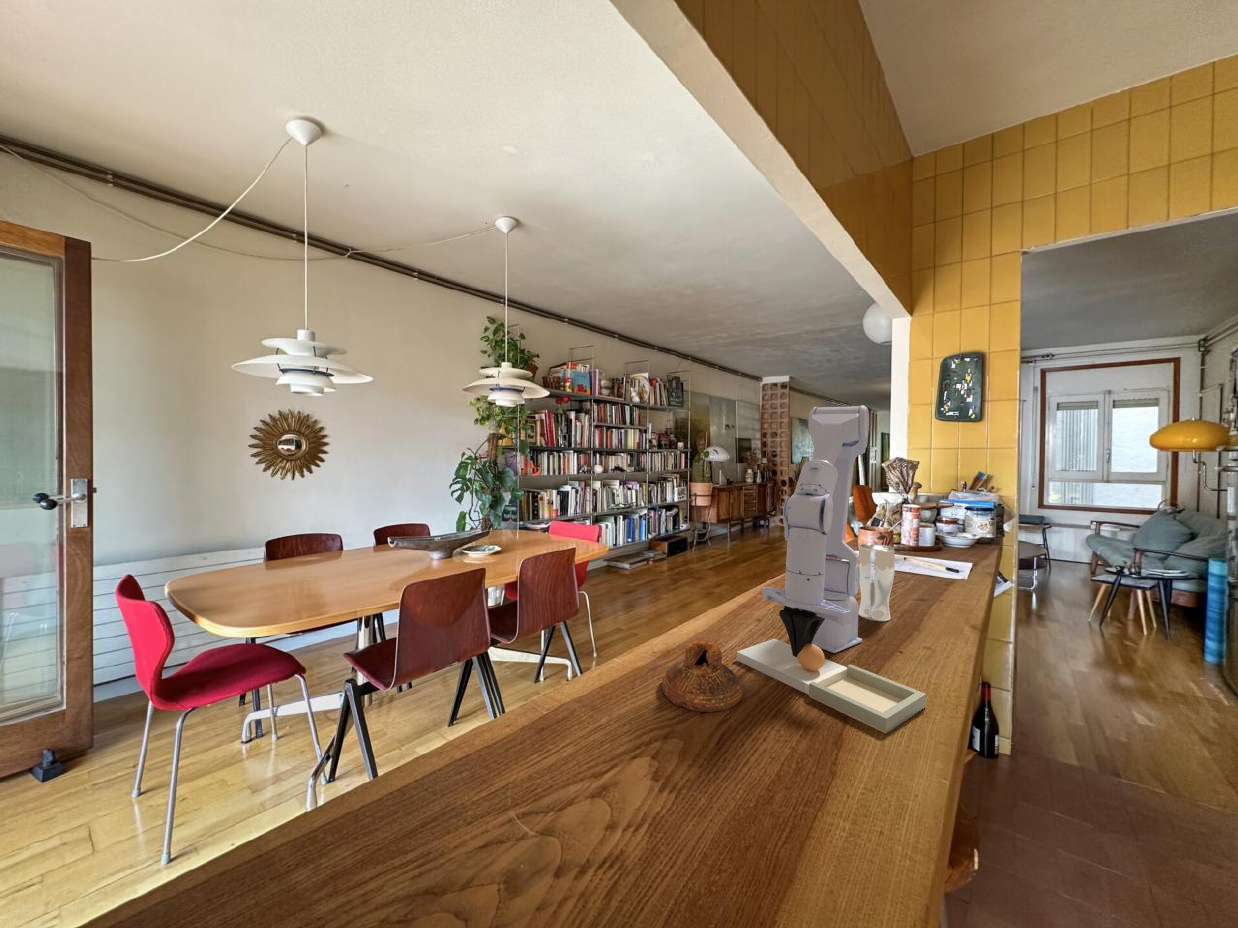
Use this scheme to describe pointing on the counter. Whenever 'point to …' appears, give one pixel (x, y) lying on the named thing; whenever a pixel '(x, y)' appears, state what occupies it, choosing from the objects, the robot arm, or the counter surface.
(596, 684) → the counter surface
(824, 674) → the plate
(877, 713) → the tray
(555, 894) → the counter surface
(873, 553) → the beer glass
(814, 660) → the ball
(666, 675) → the bell
